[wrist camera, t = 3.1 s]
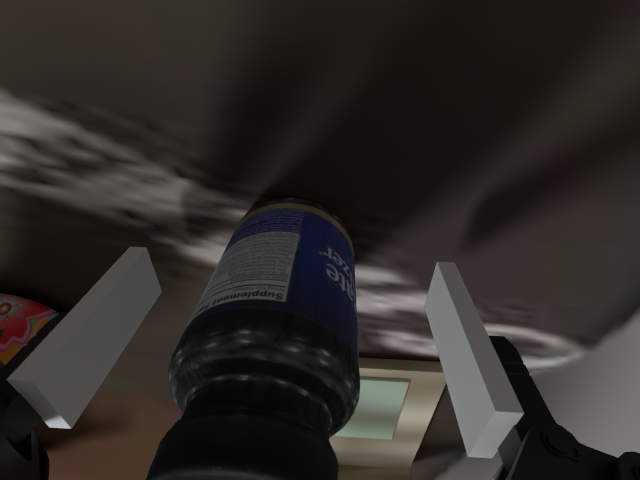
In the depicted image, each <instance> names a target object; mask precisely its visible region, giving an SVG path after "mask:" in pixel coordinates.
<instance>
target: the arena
mask: <svg viewBox="0 0 640 480" xmlns="http://www.w3.org/2000/svg"><path fill="white" fill-rule="evenodd" d="M359 372H360V394H359V401H358V403H357V407H356V408H355V411H354V413H353V415H352V417H351V418H350V420H349V421H348V422H347V424H346V425H345V426H344V427H343V428H342V429H341V430H340V431H339V432H337V433H336V434H335V435H334V436H332V437H330V438H329V441H330V444H331V446H332V448H333V450H334V452H335V454H336V457H337V461H338V465H339V470H338V480H411V475H410V467H411V465H412V462H413V460H414V458H415V455H416V453H417V451H418V448H419V446H420V444H421V441H422V439H423V436H424V434H425V432H426V429H427V427H428V425H429V422H430V420H431V418H432V415H433V413H434V410H435V408H436V406H437V403H438V401H439V399H440V396H441V394H442V392H443V389H444V387H445V384H446V379H445V376H444V372H443V369H442V365H441V362H432V361H414V360H396V359H378V358H360V357H359Z"/></svg>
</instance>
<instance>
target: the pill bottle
mask: <svg viewBox="0 0 640 480" xmlns="http://www.w3.org/2000/svg"><path fill="white" fill-rule="evenodd" d="M168 373H169V374H168V379H169V383H168V385H169V388H170V393H171V396H172V399H173V401H174V402H175V404H176V406H177V408H178V409H179V410H180V411H181V413H182V414H183V415H182V418H181V419H180V420H178V421H177V422H176V423H175V424H174V426H173V427H172V428H171V429H170V430H169V431H168V432H167V433H166V435H165V436H164V438H162V440H161V441H160V444H159V446H158V449H157V452H156V455H155V458H154V459H153V462H152V465H151V467H150V469H149V472H148V475H147V478H146V480H338V470H339V465H338V461H337V457H336V454H335V452H334V450H333V448H332V446H331V444H330V441H329V438H330V437H332V436H334V435H335V434H336V433H337V432H339V431H340V430H341V429H342V428H343V427H344V426H345V425H346V424H347V422H348V421H349V420H350V418H351V417H352V415H353V413H354V411H355V408H356V407H357V403H358V401H359V394H360V372H359V347H358V330H357V309H356V288H355V267H354V248H353V242H352V239H351V236H350V233H349V231H348V229H347V228H346V226H345V224H344V223H343V222H342V221H341V220H340V219H339V217H338V216H336V215H335V214H333V213H332V212H330V211H327V210H325V209H324V208H323V206H322V205H320V204H318V203H316V202H313V201H311V200H306V199H303V198H297V197H288V198H280V199H274V200H270V201H266V202H263V203H261V204H259V205H258V206H256V207H254V208H253V209H251V210H250V211H249V212H247V213H246V215H245V216H244V217H243V219H242V220H241V221H240V223H239V224H238V226H237V227H236V229H235V232H234V234H233V236H232V238H231V240H230V241H229V243H228V245H227V247H226V249H225V251H224V253H223V255H222V257H221V259H220V261H219V263H218V265H217V267H216V269H215V271H214V273H213V275H212V277H211V279H210V281H209V283H208V285H207V287H206V289H205V291H204V293H203V295H202V297H201V299H200V301H199V303H198V305H197V307H196V309H195V311H194V313H193V315H192V317H191V319H190V321H189V323H188V325H187V327H186V329H185V331H184V333H183V335H182V337H181V339H180V341H179V343H178V345H177V347H176V349H175V351H174V353H173V354H172V359H171V362H170V365H169V369H168Z"/></svg>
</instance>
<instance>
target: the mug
mask: <svg viewBox="0 0 640 480" xmlns="http://www.w3.org/2000/svg"><path fill="white" fill-rule="evenodd" d="M59 314H60V313H59V312H57V311H55V310H53V309H51V308H49V307H47V306H45V305H43V304H41V303H38V302H35V301H33V300H30V299H27V298H23V297H19V296H15V295H10V294H3V293H0V370H1V369H2V368H3V367H4V366H5V365H6V364H7V363H8V362H9V361H10V360H11V359H12V358H13V357H14V356H15V355H16V354H17V352H18V351H19V350H20V349H21V348H22V347H23V346H26V345H27V344H26V343H27V342H28V341H29V340H30V339H31V338H32V337H33V336H36V333H37V332H38V331H39V330H40V329H41V328H42V327H43V326H44V325H45V324H46V323H47V322H48V321H49V320H51V319H52V318H54V317H55V316H57V315H59Z"/></svg>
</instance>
